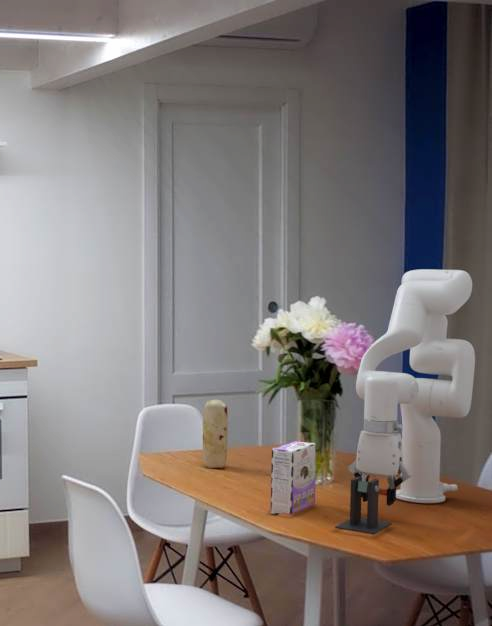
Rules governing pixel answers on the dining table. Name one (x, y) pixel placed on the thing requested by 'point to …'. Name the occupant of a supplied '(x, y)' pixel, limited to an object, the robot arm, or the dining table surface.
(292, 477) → the candy box
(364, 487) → the switch lever
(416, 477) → the robot arm
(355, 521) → the two-post lever stand
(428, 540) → the dining table surface
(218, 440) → the food model
